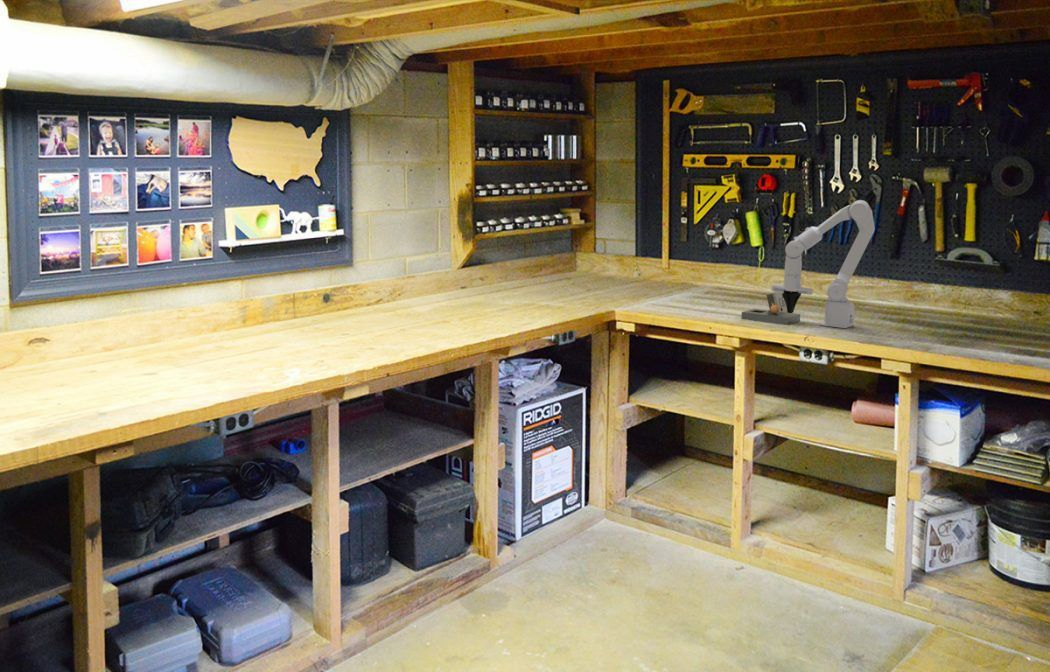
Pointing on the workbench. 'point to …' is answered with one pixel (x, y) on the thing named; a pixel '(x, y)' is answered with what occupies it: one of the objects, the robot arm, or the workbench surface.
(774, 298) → the electrical switch
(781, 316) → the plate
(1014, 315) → the workbench surface
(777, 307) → the ball
